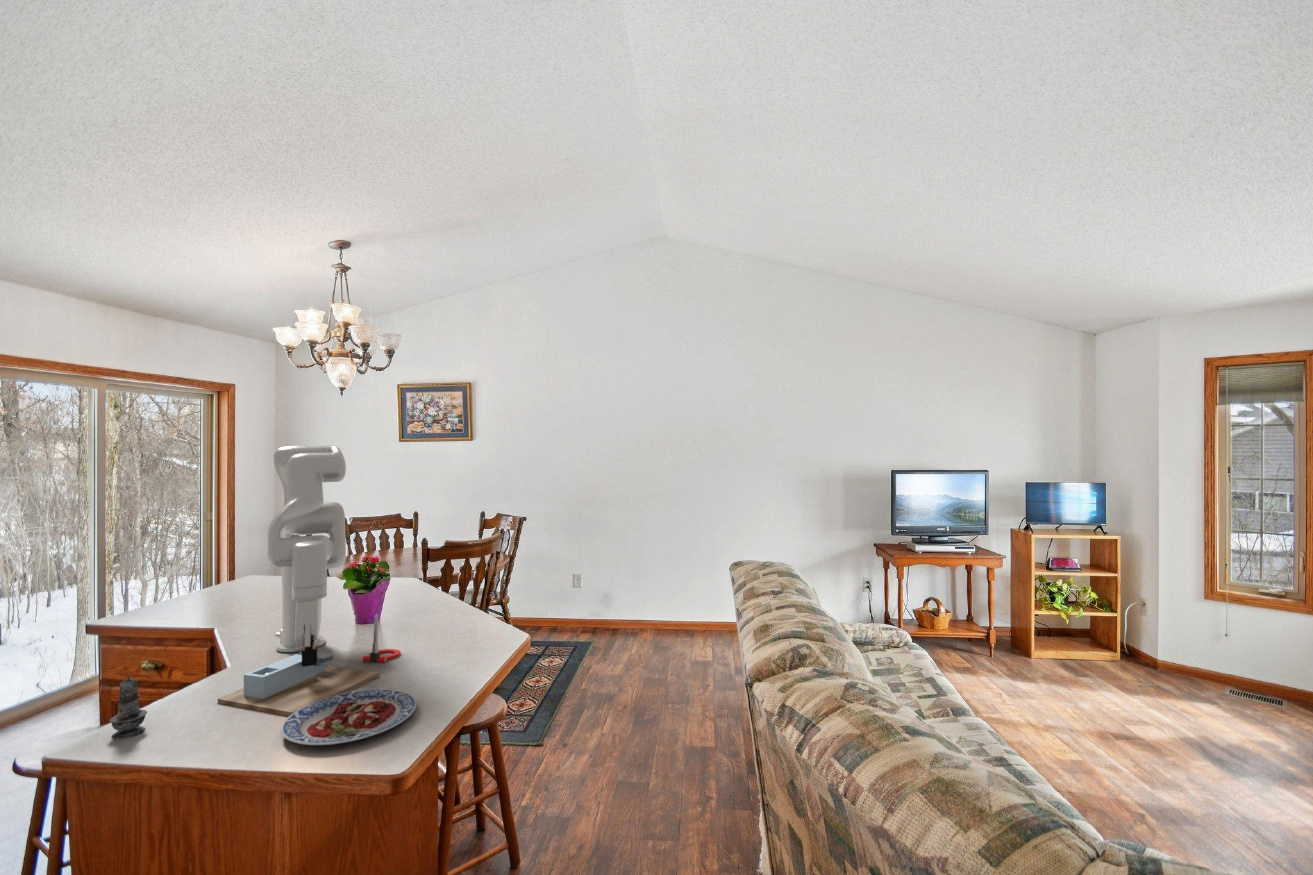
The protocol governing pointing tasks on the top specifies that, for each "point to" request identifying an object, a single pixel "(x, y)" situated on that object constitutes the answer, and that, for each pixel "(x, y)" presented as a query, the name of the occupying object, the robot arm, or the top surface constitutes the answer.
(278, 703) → the board
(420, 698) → the top surface
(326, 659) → the bracket
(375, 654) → the tow hook
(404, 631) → the top surface
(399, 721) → the ceramic plate
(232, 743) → the top surface
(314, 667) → the link
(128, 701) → the grey stone sculpture
